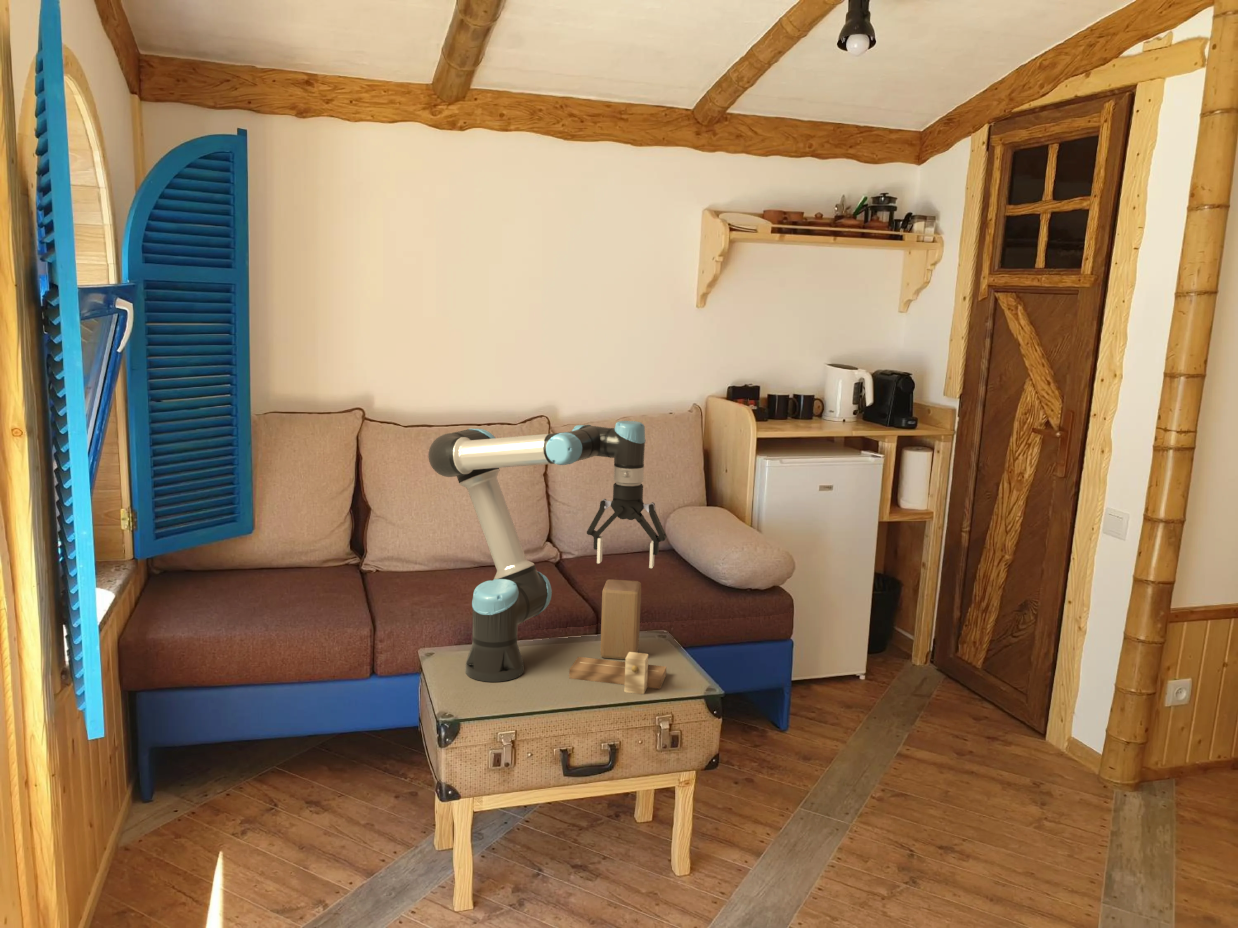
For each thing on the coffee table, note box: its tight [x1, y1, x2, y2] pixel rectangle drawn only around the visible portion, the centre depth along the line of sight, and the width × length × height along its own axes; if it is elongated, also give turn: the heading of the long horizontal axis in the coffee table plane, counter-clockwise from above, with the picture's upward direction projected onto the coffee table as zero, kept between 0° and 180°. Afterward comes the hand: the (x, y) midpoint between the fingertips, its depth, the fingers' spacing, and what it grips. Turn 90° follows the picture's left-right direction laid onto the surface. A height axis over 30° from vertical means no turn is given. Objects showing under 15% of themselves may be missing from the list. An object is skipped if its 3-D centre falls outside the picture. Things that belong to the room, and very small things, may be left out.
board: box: [568, 656, 667, 690], centre depth 257 cm, size 24×9×2 cm, turn 78°
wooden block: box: [599, 579, 642, 660], centre depth 272 cm, size 10×10×20 cm
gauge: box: [623, 652, 649, 695], centre depth 253 cm, size 5×14×9 cm, turn 168°
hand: (625, 564), depth 251 cm, fingers open, 13 cm apart
